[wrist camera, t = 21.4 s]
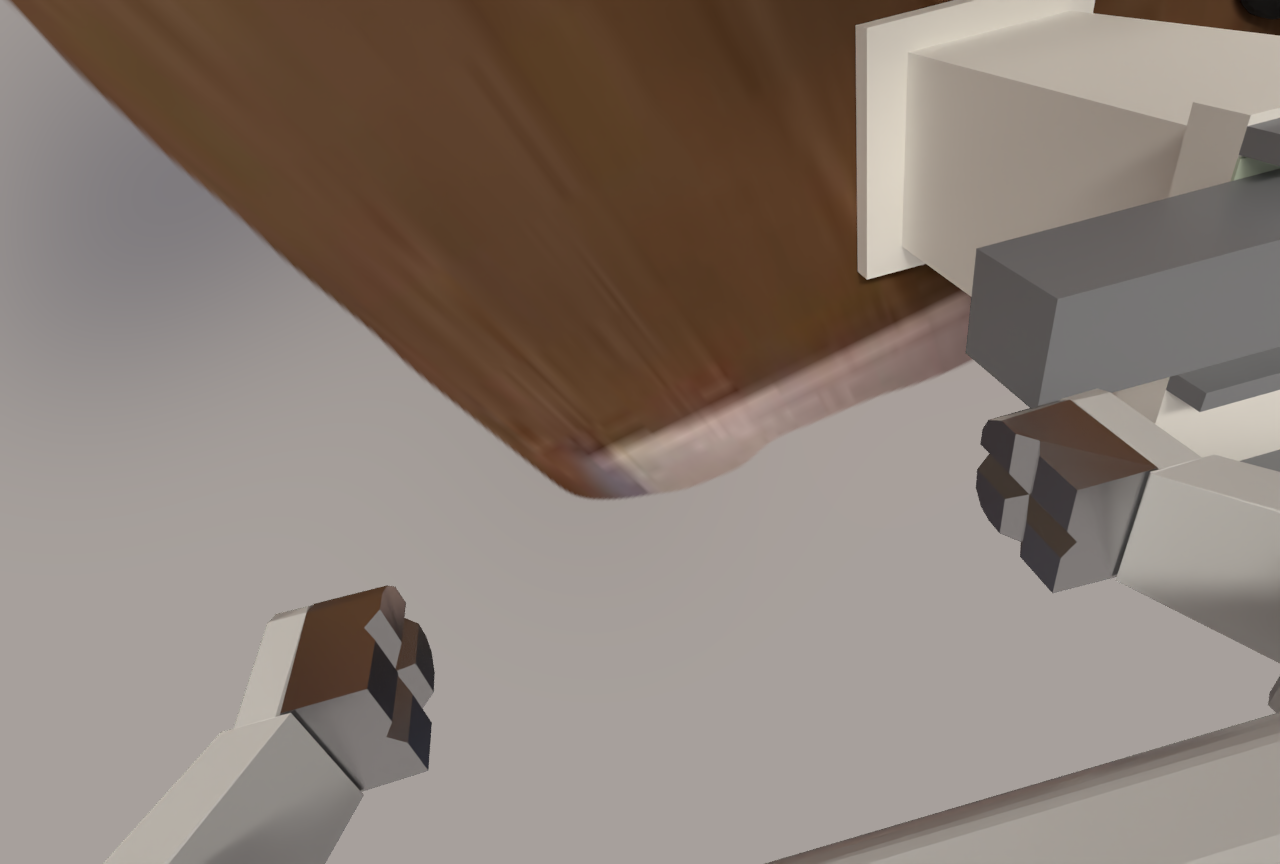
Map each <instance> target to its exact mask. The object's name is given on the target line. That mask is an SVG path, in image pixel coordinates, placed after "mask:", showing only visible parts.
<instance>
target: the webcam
mask: <svg viewBox="0 0 1280 864" xmlns="http://www.w3.org/2000/svg"><path fill="white" fill-rule="evenodd" d="M1241 2H1242V5H1243V6H1244V7H1245V9H1246V10H1247V11H1248V12H1249V13H1251V14H1253V15H1256V16H1259V17H1262V18H1267V19H1278V18H1280V0H1241Z"/></svg>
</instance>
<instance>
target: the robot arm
mask: <svg viewBox="0 0 1280 864" xmlns="http://www.w3.org/2000/svg"><path fill="white" fill-rule="evenodd" d="M981 445H982V446H983V447H984V448H985V449H986V450H987V451H988V452H989V453H990V454H989V455H988V456H987V458H986V459H985V460H984V461H983V463H982V464H981V465H980V467H979V468H978V469H977V481H976V490H977V493H978V497H979V501H980V505H981V507H982V508H983V511H984V513H985V514H986V516H987V518H988V520H989V521H990V522H991V523H992V525H993V526H994V527H995V528H996V529H997V531H998V532H999V533H1000V534H1003V535H1005V536H1008V537H1010V538H1013V539H1015V540H1018V541H1020V542H1021V550H1020V557H1021V558H1022V559H1023V560H1024V562H1025V563H1026V564H1027V565H1028V566H1029V567H1030V568H1031V569H1032V571H1034V573H1035V574H1036V575H1037V576H1038V577H1039V578H1040V580H1041V581H1042V582H1043V583H1044V584H1045V585H1046V586H1047V588H1048V589H1049V590H1050V591H1051V592H1052V593H1055V592H1059V591H1062V590H1067V589H1071V588H1074V587H1079V586H1082V585H1086V584H1090V583H1094V582H1098V581H1102V580H1106V579H1110V578H1114V577H1116V581H1118V582H1120V583H1122V584H1124V585H1126V586H1128V587H1130V588H1132V589H1134V590H1136V591H1138V592H1140V593H1142V594H1144V595H1146V596H1148V597H1150V598H1152V599H1153V600H1156V601H1157V602H1160V603H1161V604H1163V605H1165V606H1167V607H1169V608H1171V609H1173V610H1175V611H1177V612H1179V613H1181V614H1183V615H1185V616H1187V617H1189V618H1191V619H1193V620H1195V621H1197V622H1199V623H1201V624H1203V625H1205V626H1207V627H1209V628H1211V629H1213V630H1215V631H1217V632H1219V633H1221V634H1223V635H1225V636H1227V637H1229V638H1231V639H1233V640H1235V641H1237V642H1239V643H1241V644H1243V645H1245V646H1247V647H1248V648H1251V649H1252V650H1255V651H1257V652H1258V653H1260V654H1262V655H1264V656H1266V657H1268V658H1270V659H1273V660H1274V661H1276V662H1278V663H1280V472H1278V471H1274V470H1271V469H1267V468H1263V467H1259V466H1255V465H1252V464H1248V463H1244V462H1240V461H1237V460H1233V459H1229V458H1225V457H1222V456H1218V455H1210V456H1206V457H1201V456H1199V455H1198V454H1196V453H1195V452H1194V451H1192V450H1191V449H1189V448H1188V447H1187V446H1185V445H1184V444H1182V443H1181V442H1180V441H1178V440H1177V439H1175V438H1174V437H1173V436H1171V435H1170V434H1168V433H1167V432H1166V431H1164V430H1163V429H1161V428H1160V427H1158V426H1157V425H1156V424H1154V423H1153V422H1151V421H1150V420H1149V419H1147V418H1146V417H1144V416H1143V415H1142V414H1140V413H1139V412H1137V411H1136V410H1135V409H1133V408H1132V407H1130V406H1129V405H1128V404H1126V403H1125V402H1123V401H1122V400H1121V399H1119V398H1118V397H1116V396H1115V395H1114V394H1112V393H1111V392H1108V391H1105V390H1101V389H1094V390H1090V391H1087V392H1083V393H1080V394H1077V395H1073V396H1070V397H1066V398H1063V399H1060V400H1059V401H1054V402H1050V403H1047V404H1043V405H1040V406H1036V407H1032V408H1029V409H1026V410H1022V411H1018V412H1015V413H1012V414H1008V415H1004V416H1001V417H997V418H994V419H990V420H988V422H987V423H986V425H985V426H984V428H983V431H982V437H981ZM405 607H406V602H405V601H404V599H403V598H402V596H401V595H400V593H399V592H398V590H397V589H396V587H394V586H384V587H380V588H375V589H371V590H368V591H363V592H360V593H356V594H352V595H347V596H343V597H340V598H335V599H331V600H327V601H323V602H320V603H316V604H314V605H312V606H308V607H303V608H299V609H295V610H291V611H287V612H283V613H278V614H276V615H275V616H274V617H273V618H272V619H271V620H270V621H269V622H268V624H267V625H266V628H265V632H264V635H263V638H262V641H261V644H260V647H259V650H258V654H257V657H256V660H255V663H254V666H253V669H252V672H251V676H250V678H249V681H248V684H247V688H246V691H245V694H244V697H243V700H242V703H241V706H240V709H239V712H238V716H237V719H236V722H235V725H234V728H233V729H230V730H227V731H224V732H221V733H220V734H219V735H218V736H217V737H216V738H215V740H214V741H213V742H212V743H211V744H210V745H209V746H208V748H206V750H205V751H204V752H203V753H202V754H201V755H200V756H199V757H198V759H197V760H196V761H195V762H194V763H193V764H192V765H191V766H190V767H189V768H188V770H187V771H186V772H185V773H184V774H183V775H182V776H181V777H180V778H179V780H178V781H177V782H176V783H175V784H174V785H173V786H172V787H171V789H170V790H169V791H168V792H167V793H166V794H165V795H164V796H163V798H162V799H161V800H160V801H159V802H158V803H157V804H156V805H155V806H154V807H153V809H152V810H151V811H150V812H149V813H148V814H147V815H146V816H145V817H144V819H143V820H142V821H141V822H140V823H139V824H138V825H137V826H136V827H135V829H134V830H133V831H132V832H131V833H130V834H129V835H128V836H127V837H126V839H125V840H124V841H123V842H122V843H121V844H120V845H119V846H118V848H117V849H116V850H115V851H114V852H113V853H112V854H111V855H110V857H108V859H107V860H106V861H105V862H104V863H103V864H325V863H326V861H327V859H328V857H329V856H330V854H331V852H332V850H333V849H334V847H335V845H336V843H337V842H338V840H339V838H340V836H341V834H342V833H343V831H344V829H345V827H346V826H347V824H348V822H349V820H350V818H351V817H352V815H353V813H354V812H355V810H356V808H357V806H358V804H359V803H360V801H361V799H362V797H363V793H362V791H365V790H368V789H372V788H375V787H378V786H381V785H384V784H388V783H391V782H394V781H397V780H400V779H404V778H407V777H410V776H413V775H416V774H420V773H422V772H426V771H428V768H429V754H430V740H431V725H432V722H431V721H430V719H429V718H428V716H427V715H426V713H425V712H424V711H423V709H422V708H423V707H424V706H425V704H426V702H427V701H428V699H429V698H430V697H431V695H432V694H433V692H434V674H435V672H434V665H433V659H432V652H431V649H430V646H429V643H428V640H427V638H426V635H425V634H424V632H423V630H422V628H421V627H420V625H419V624H418V623H415V622H413V621H411V620H408V619H406V618H404V616H405ZM1268 705H1269V706H1270V707H1271V708H1272V709H1273V710H1274V711H1275V712H1276V714H1272V715H1269V716H1265V717H1262V718H1258V719H1255V720H1252V721H1248V722H1245V723H1242V724H1238V725H1235V726H1231V727H1228V728H1224V729H1221V730H1218V731H1214V732H1211V733H1207V734H1204V735H1201V736H1197V737H1194V738H1190V739H1187V740H1184V741H1180V742H1177V743H1173V744H1170V745H1166V746H1163V747H1160V748H1156V749H1153V750H1149V751H1146V752H1143V753H1139V754H1136V755H1132V756H1129V757H1126V758H1123V759H1119V760H1115V761H1112V762H1109V763H1105V764H1102V765H1099V766H1095V767H1092V768H1088V769H1085V770H1082V771H1078V772H1075V773H1071V774H1068V775H1064V776H1061V777H1058V778H1054V779H1051V780H1047V781H1044V782H1041V783H1038V784H1034V785H1030V786H1027V787H1024V788H1020V789H1017V790H1014V791H1010V792H1007V793H1003V794H1000V795H996V796H993V797H989V798H986V799H983V800H979V801H976V802H972V803H969V804H966V805H963V806H959V807H956V808H952V809H949V810H945V811H942V812H939V813H935V814H932V815H928V816H925V817H921V818H918V819H915V820H911V821H908V822H905V823H901V824H898V825H894V826H891V827H888V828H884V829H881V830H877V831H874V832H871V833H867V834H864V835H860V836H857V837H854V838H850V839H847V840H844V841H840V842H837V843H833V844H830V845H826V846H823V847H820V848H816V849H813V850H810V851H806V852H803V853H799V854H796V855H792V856H789V857H786V858H782V859H779V860H775V861H772V862H769V863H765V864H1280V677H1279V678H1278V680H1277V681H1276V683H1275V685H1274V687H1273V688H1272V690H1271V691H1270V694H1269V702H1268Z"/></svg>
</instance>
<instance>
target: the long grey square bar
mask: <svg viewBox="0 0 1280 864" xmlns="http://www.w3.org/2000/svg"><path fill="white" fill-rule="evenodd" d="M1277 347H1280V169H1276V170H1272V171H1268V172H1264V173H1261V174H1257V175H1253V176H1249V177H1245V178H1242V179H1238V180H1234V181H1230V182H1226V183H1223V184H1219V185H1215V186H1211V187H1208V188H1204V189H1200V190H1196V191H1192V192H1189V193H1185V194H1181V195H1177V196H1173V197H1170V198H1166V199H1162V200H1158V201H1154V202H1151V203H1147V204H1143V205H1139V206H1136V207H1132V208H1128V209H1124V210H1120V211H1117V212H1113V213H1109V214H1105V215H1101V216H1098V217H1094V218H1090V219H1086V220H1082V221H1079V222H1075V223H1071V224H1067V225H1064V226H1060V227H1056V228H1052V229H1048V230H1045V231H1041V232H1037V233H1033V234H1029V235H1026V236H1022V237H1018V238H1014V239H1010V240H1007V241H1003V242H999V243H995V244H991V245H988V246H984V247H980V248H976V258H975V268H974V277H973V287H972V297H971V306H970V316H969V326H968V335H967V345H966V354H968V355H969V356H970V357H971V358H972V359H973V360H975V361H976V362H977V363H978V364H979V365H981V366H982V367H983V368H984V369H985V370H987V371H988V372H989V373H990V374H991V375H992V376H994V377H995V378H996V379H997V380H998V381H999V382H1001V383H1002V384H1003V385H1004V386H1005V387H1006V388H1008V389H1009V390H1010V391H1011V392H1012V393H1014V394H1015V395H1016V396H1017V397H1018V398H1020V399H1021V400H1022V401H1023V402H1024V403H1025V404H1026V405H1028V406H1029V407H1030V408H1032V407H1036V406H1040V405H1043V404H1047V403H1050V402H1054V401H1059V400H1060V399H1063V398H1066V397H1070V396H1073V395H1077V394H1080V393H1083V392H1087V391H1090V390H1094V389H1101V390H1105V391H1108V392H1111V393H1113V392H1117V391H1120V390H1124V389H1127V388H1131V387H1135V386H1138V385H1142V384H1146V383H1149V382H1153V381H1157V380H1160V379H1164V378H1168V377H1171V376H1175V375H1179V374H1182V373H1186V372H1190V371H1193V370H1197V369H1200V368H1204V367H1208V366H1211V365H1215V364H1219V363H1222V362H1226V361H1230V360H1233V359H1237V358H1241V357H1244V356H1248V355H1252V354H1255V353H1259V352H1263V351H1266V350H1270V349H1274V348H1277Z"/></svg>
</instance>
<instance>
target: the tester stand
mask: <svg viewBox="0 0 1280 864" xmlns="http://www.w3.org/2000/svg"><path fill="white" fill-rule="evenodd" d="M1094 4H1095V0H953V1H949V2H945V3H941V4H937V5H933V6H929V7H925V8H922V9H918V10H914V11H910V12H906V13H902V14H898V15H894V16H890V17H886V18H882V19H878V20H874V21H870V22H867V23H863V24H859V25H855V26H856V144H857V261H858V272H859V273H860V274H861V275H862V276H863V277H864V278H866V279H867V280H868V279H871V278H875V277H879V276H882V275H886V274H890V273H894V272H897V271H901V270H905V269H909V268H912V267H916V266H920V265H924V264H927V265H928V266H930V267H931V268H932V269H934V270H935V271H936V272H938V273H939V274H941V275H942V276H943V277H945V278H946V279H947V280H949V281H950V282H952V283H953V284H954V285H956V286H957V287H958V288H960V289H961V290H963V291H964V292H965V293H967V294H968V295H969V296H971V297H972V287H973V277H974V268H975V258H976V248H980V247H984V246H988V245H991V244H995V243H999V242H1003V241H1007V240H1010V239H1014V238H1018V237H1022V236H1026V235H1029V234H1033V233H1037V232H1041V231H1045V230H1048V229H1052V228H1056V227H1060V226H1064V225H1067V224H1071V223H1075V222H1079V221H1082V220H1086V219H1090V218H1094V217H1098V216H1101V215H1105V214H1109V213H1113V212H1117V211H1120V210H1124V209H1128V208H1132V207H1136V206H1139V205H1143V204H1147V203H1151V202H1154V201H1158V200H1162V199H1166V198H1170V197H1173V196H1177V195H1181V194H1185V193H1189V192H1192V191H1196V190H1200V189H1204V188H1208V187H1211V186H1215V185H1219V184H1223V183H1226V182H1230V181H1234V180H1238V179H1242V178H1245V177H1249V176H1253V175H1257V174H1261V173H1264V172H1268V171H1272V170H1276V169H1280V36H1278V35H1270V34H1262V33H1253V32H1245V31H1237V30H1228V29H1220V28H1212V27H1203V26H1195V25H1186V24H1178V23H1170V22H1161V21H1153V20H1145V19H1136V18H1128V17H1120V16H1111V15H1103V14H1094V13H1093V10H1094ZM1112 394H1114V395H1115V396H1116V397H1118V398H1119V399H1121V400H1122V401H1123V402H1125V403H1126V404H1128V405H1129V406H1130V407H1132V408H1133V409H1135V410H1136V411H1137V412H1139V413H1140V414H1142V415H1143V416H1144V417H1146V418H1147V419H1149V420H1150V421H1151V422H1153V423H1154V424H1156V425H1157V426H1158V427H1160V428H1161V429H1163V430H1164V431H1166V432H1167V433H1168V434H1170V435H1171V436H1173V437H1174V438H1175V439H1177V440H1178V441H1180V442H1181V443H1182V444H1184V445H1185V446H1187V447H1188V448H1189V449H1191V450H1192V451H1194V452H1195V453H1196V454H1198V455H1199V456H1201V457H1206V456H1210V455H1218V456H1222V457H1225V458H1229V459H1233V460H1237V461H1240V462H1244V463H1248V464H1252V465H1255V466H1259V467H1263V468H1267V469H1271V470H1274V471H1278V472H1280V347H1277V348H1274V349H1270V350H1266V351H1263V352H1259V353H1255V354H1252V355H1248V356H1244V357H1241V358H1237V359H1233V360H1230V361H1226V362H1222V363H1219V364H1215V365H1211V366H1208V367H1204V368H1200V369H1197V370H1193V371H1190V372H1186V373H1182V374H1179V375H1175V376H1171V377H1168V378H1164V379H1160V380H1157V381H1153V382H1149V383H1146V384H1142V385H1138V386H1135V387H1131V388H1127V389H1124V390H1120V391H1117V392H1113V393H1112Z"/></svg>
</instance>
